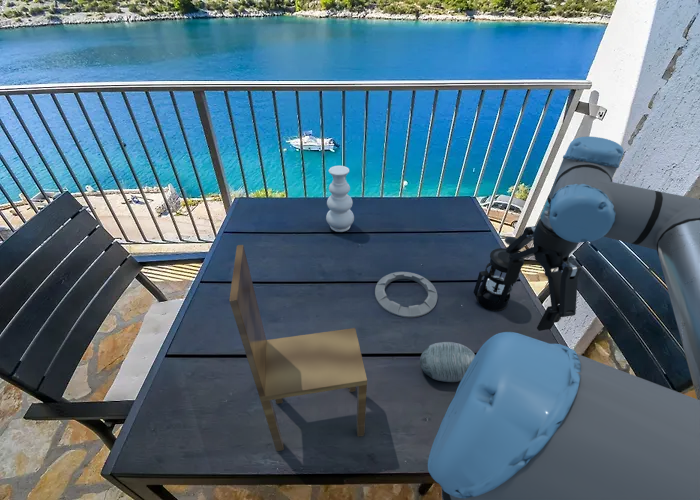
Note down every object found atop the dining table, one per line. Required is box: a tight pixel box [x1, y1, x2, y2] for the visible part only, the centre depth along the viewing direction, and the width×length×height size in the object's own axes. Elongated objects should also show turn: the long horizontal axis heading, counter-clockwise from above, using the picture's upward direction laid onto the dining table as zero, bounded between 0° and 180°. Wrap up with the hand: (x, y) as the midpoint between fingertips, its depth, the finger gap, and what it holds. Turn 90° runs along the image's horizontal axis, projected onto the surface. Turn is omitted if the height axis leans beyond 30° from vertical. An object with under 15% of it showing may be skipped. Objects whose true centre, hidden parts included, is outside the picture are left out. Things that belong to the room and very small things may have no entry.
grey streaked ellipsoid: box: [419, 341, 476, 383], centre depth 86 cm, size 14×10×10 cm
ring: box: [374, 271, 438, 319], centre depth 109 cm, size 19×19×2 cm
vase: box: [325, 165, 355, 233], centre depth 131 cm, size 11×11×25 cm
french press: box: [472, 236, 525, 312], centre depth 100 cm, size 12×9×23 cm
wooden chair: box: [228, 244, 368, 452], centre depth 65 cm, size 12×19×46 cm, turn 100°
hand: (525, 304), depth 77 cm, fingers open, 13 cm apart
